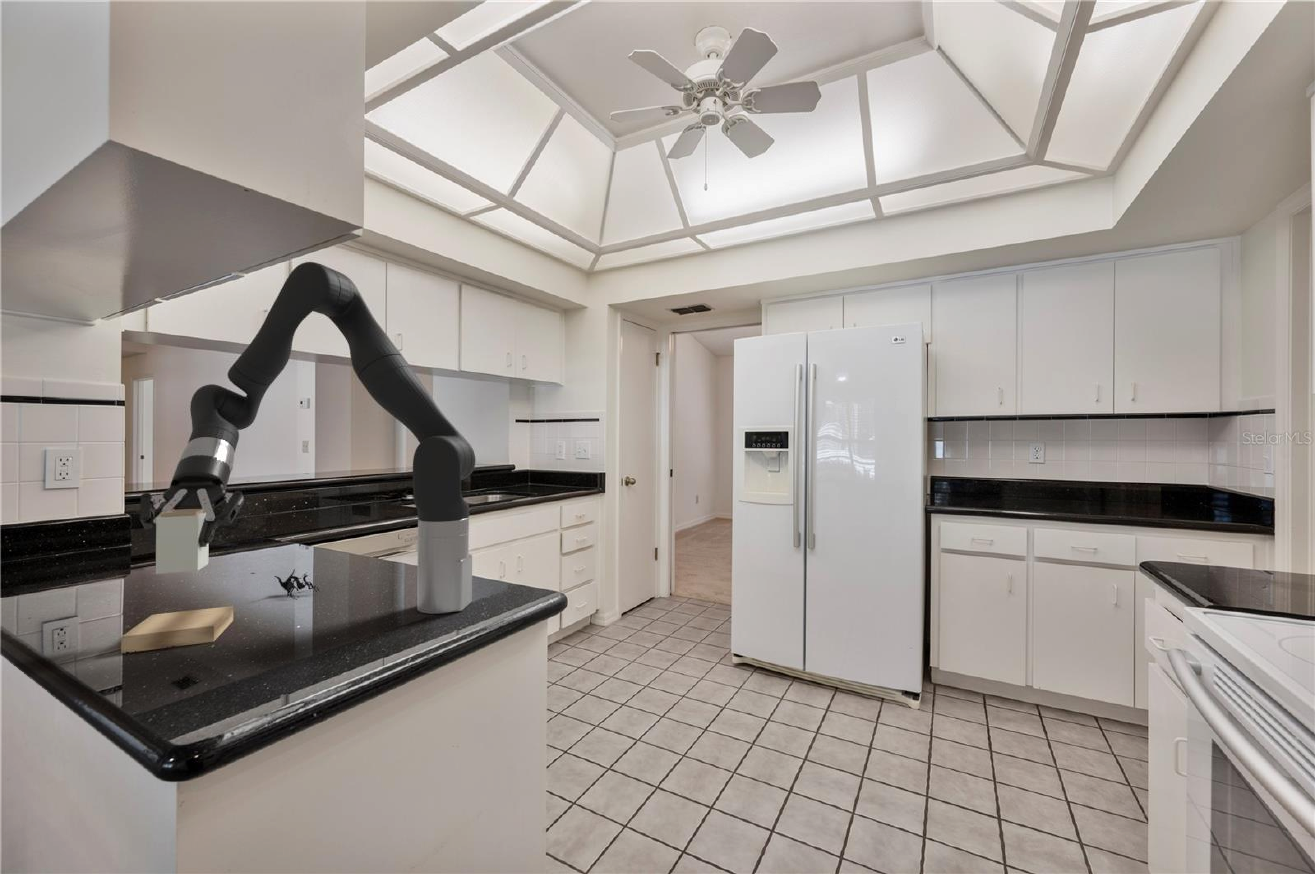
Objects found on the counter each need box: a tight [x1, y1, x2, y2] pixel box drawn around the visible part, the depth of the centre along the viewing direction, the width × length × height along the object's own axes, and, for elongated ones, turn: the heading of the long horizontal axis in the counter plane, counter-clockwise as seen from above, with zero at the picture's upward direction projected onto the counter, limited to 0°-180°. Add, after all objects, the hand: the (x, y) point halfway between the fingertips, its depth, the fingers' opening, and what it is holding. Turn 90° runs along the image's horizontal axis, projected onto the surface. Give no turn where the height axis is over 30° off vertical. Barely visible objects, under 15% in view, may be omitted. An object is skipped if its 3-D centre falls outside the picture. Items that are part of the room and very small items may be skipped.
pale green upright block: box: [155, 509, 210, 575], centre depth 87 cm, size 5×5×10 cm
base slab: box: [120, 605, 234, 654], centre depth 87 cm, size 11×11×3 cm
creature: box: [273, 568, 320, 600], centre depth 110 cm, size 8×5×8 cm
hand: (179, 545), depth 85 cm, fingers closed on pale green upright block, 5 cm apart
